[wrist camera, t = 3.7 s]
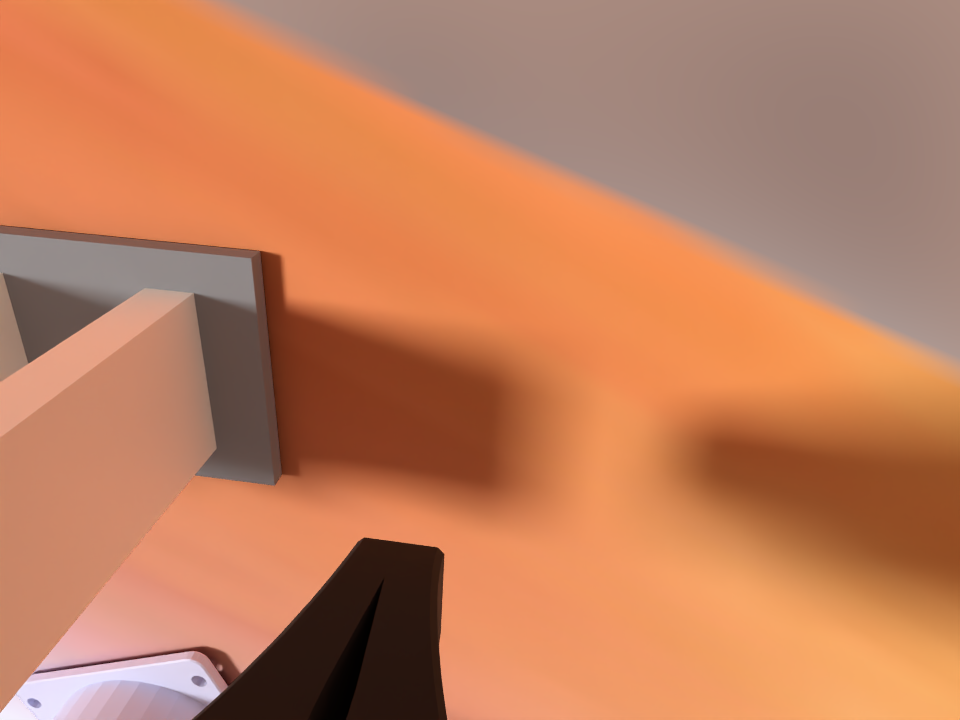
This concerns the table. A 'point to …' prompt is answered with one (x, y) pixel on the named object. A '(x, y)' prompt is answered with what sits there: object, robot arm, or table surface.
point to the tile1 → (93, 463)
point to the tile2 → (9, 337)
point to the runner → (166, 266)
